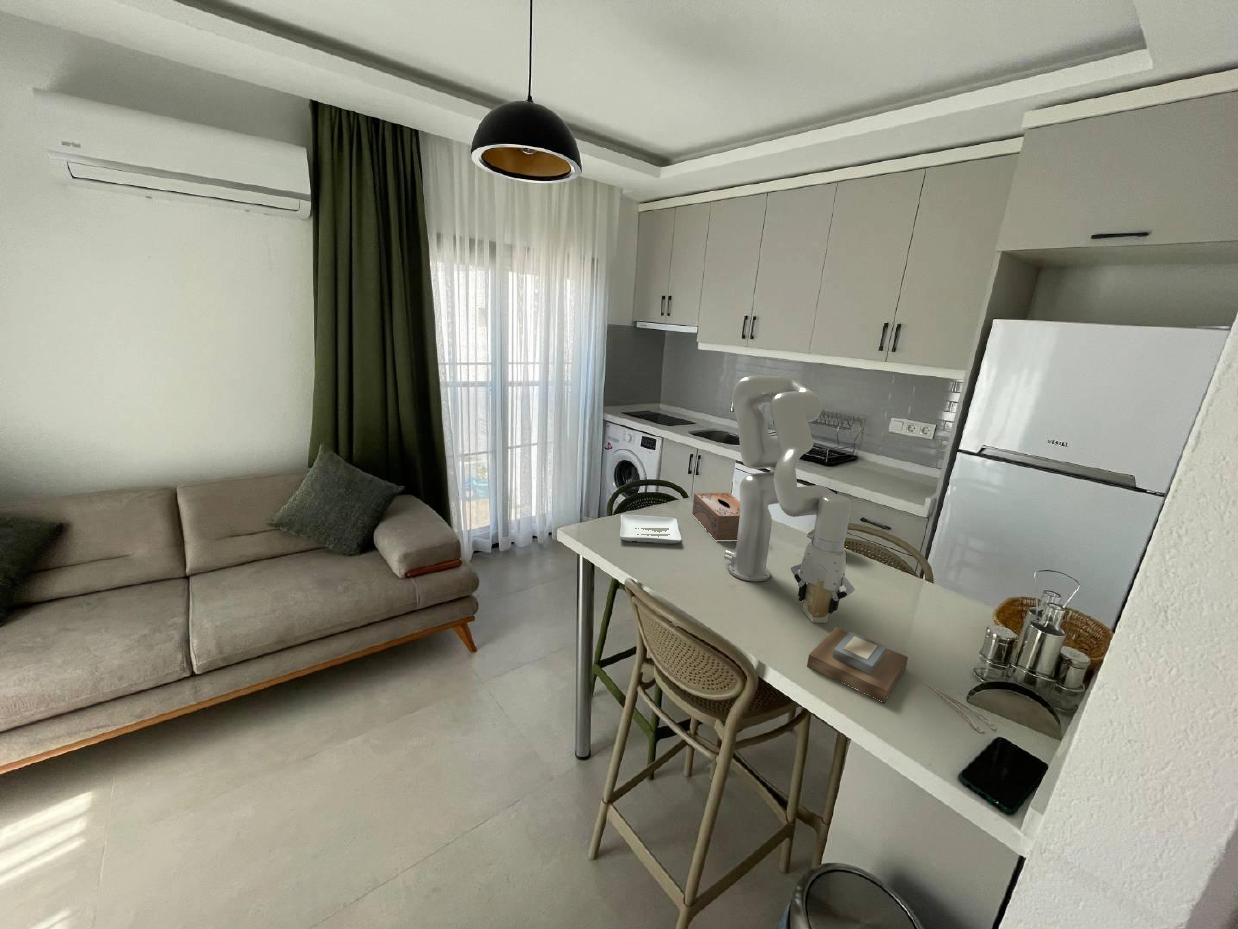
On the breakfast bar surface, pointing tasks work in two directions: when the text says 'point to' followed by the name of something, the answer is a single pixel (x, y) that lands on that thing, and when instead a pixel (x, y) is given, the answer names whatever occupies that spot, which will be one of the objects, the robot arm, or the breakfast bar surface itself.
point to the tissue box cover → (718, 514)
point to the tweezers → (965, 709)
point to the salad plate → (641, 521)
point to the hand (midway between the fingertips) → (816, 605)
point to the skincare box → (817, 602)
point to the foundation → (858, 663)
